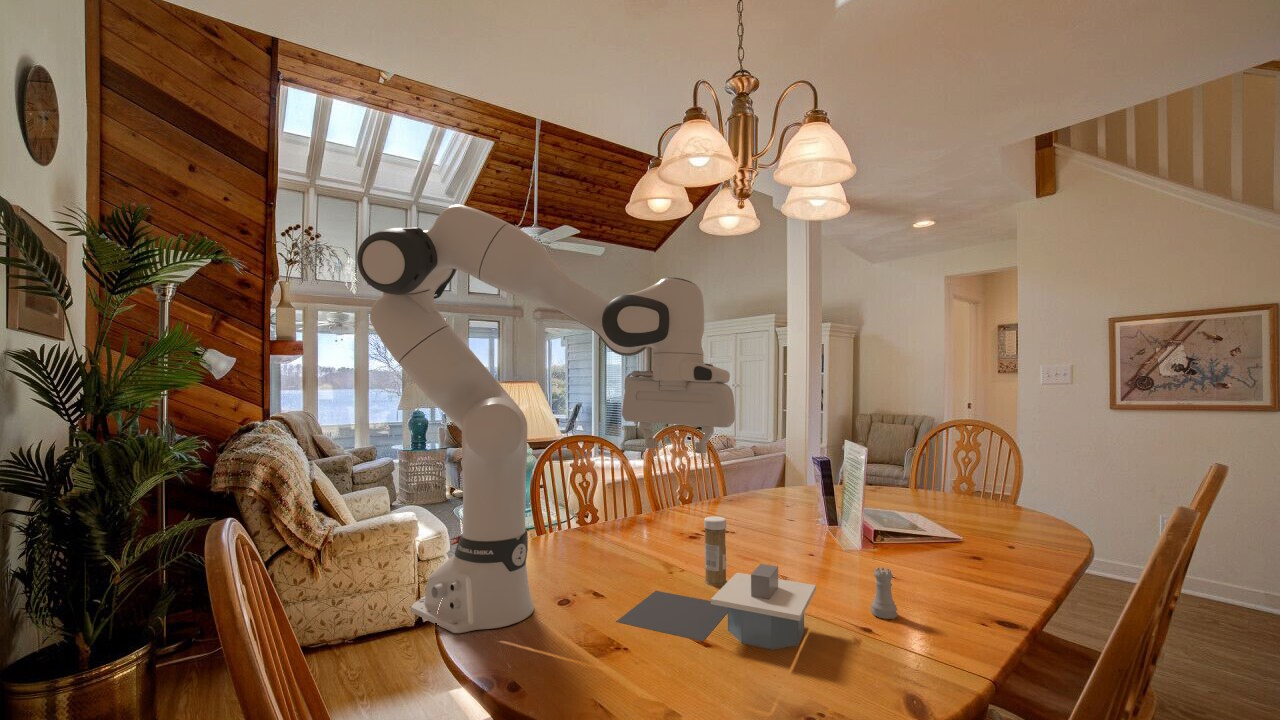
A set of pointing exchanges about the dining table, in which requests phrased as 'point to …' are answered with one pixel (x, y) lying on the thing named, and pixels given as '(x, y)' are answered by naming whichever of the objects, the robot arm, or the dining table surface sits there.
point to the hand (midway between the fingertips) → (675, 450)
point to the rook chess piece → (883, 595)
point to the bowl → (764, 629)
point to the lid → (765, 594)
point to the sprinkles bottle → (715, 551)
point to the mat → (676, 615)
